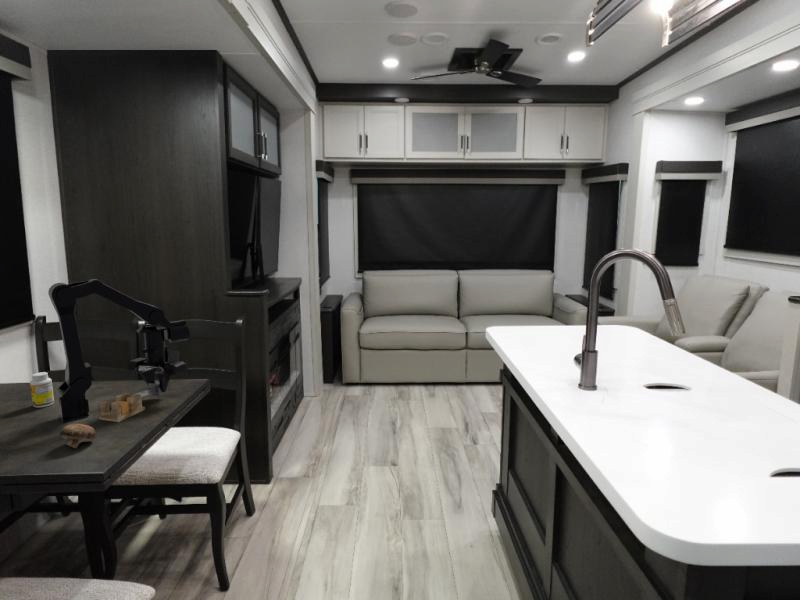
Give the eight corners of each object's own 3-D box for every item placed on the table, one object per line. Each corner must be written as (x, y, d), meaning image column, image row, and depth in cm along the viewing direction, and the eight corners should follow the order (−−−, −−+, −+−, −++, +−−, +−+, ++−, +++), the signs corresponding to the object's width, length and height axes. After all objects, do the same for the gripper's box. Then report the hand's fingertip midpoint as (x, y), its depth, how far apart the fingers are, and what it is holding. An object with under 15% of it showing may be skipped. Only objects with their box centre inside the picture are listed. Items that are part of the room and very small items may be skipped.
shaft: (137, 405, 153) (136, 393, 152) (127, 404, 154) (125, 392, 154) (165, 393, 164) (164, 381, 163) (155, 392, 165) (154, 380, 164)
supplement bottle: (35, 403, 160) (31, 372, 158) (56, 400, 162) (52, 370, 160) (30, 409, 155) (26, 377, 153) (51, 406, 157) (48, 375, 155)
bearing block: (118, 422, 145) (116, 405, 144) (99, 419, 147) (97, 403, 146) (145, 409, 154) (143, 394, 153) (126, 407, 156) (125, 391, 155)
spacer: (122, 414, 148) (121, 404, 147) (111, 412, 149) (110, 403, 149) (129, 411, 150) (128, 402, 150) (118, 409, 151) (117, 400, 151)
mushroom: (63, 444, 123) (71, 418, 126) (50, 448, 127) (58, 424, 130) (97, 449, 128) (103, 425, 131) (83, 453, 133) (90, 430, 136)
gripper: (196, 340, 166) (199, 386, 169) (150, 337, 172) (154, 381, 174) (172, 349, 156) (175, 397, 158) (124, 344, 161) (128, 391, 164)
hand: (158, 391), depth 164 cm, fingers closed on shaft, 4 cm apart
